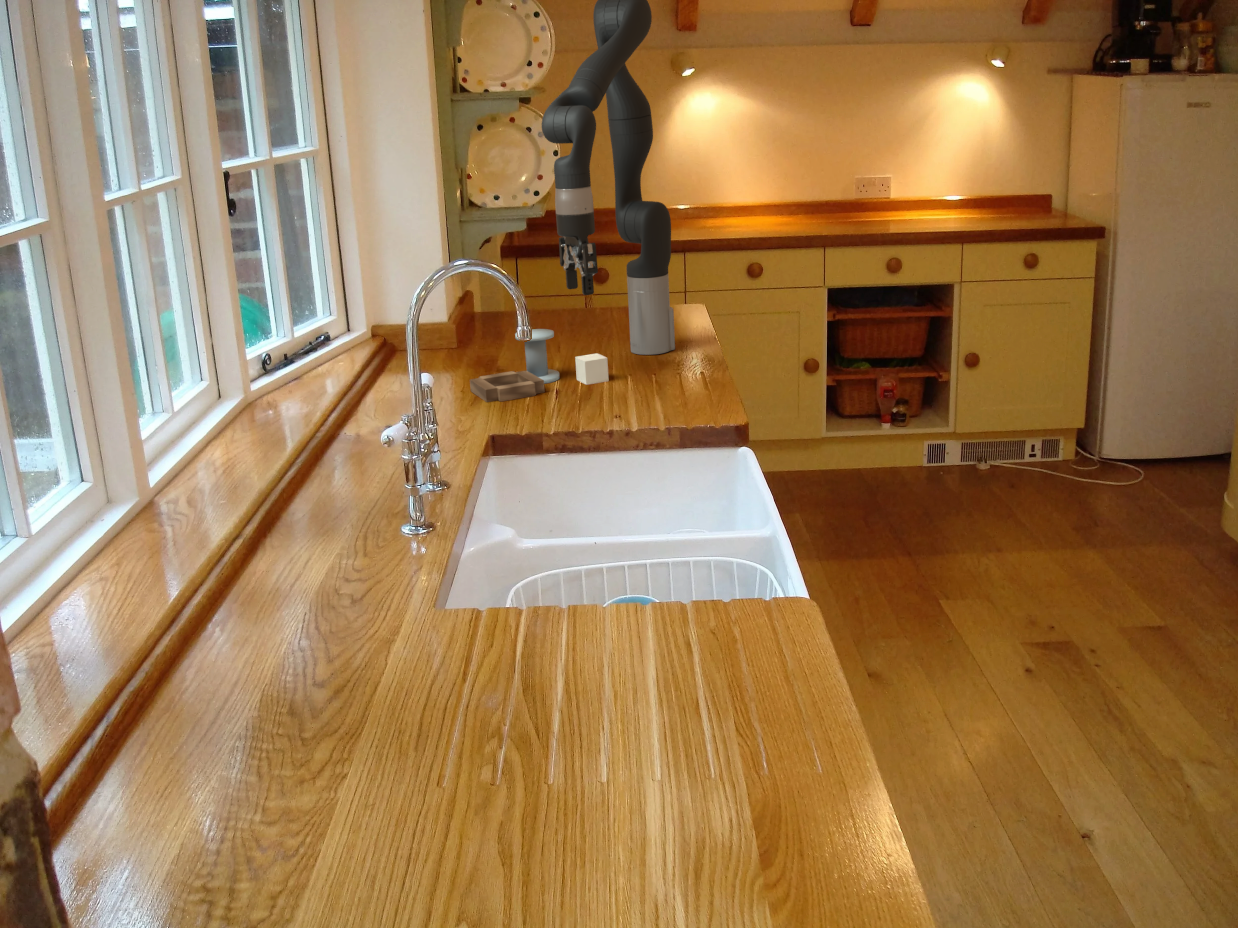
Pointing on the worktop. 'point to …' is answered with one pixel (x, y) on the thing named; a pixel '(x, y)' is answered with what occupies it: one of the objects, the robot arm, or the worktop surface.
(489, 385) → the tray
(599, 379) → the block
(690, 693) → the worktop surface
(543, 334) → the bobbin
